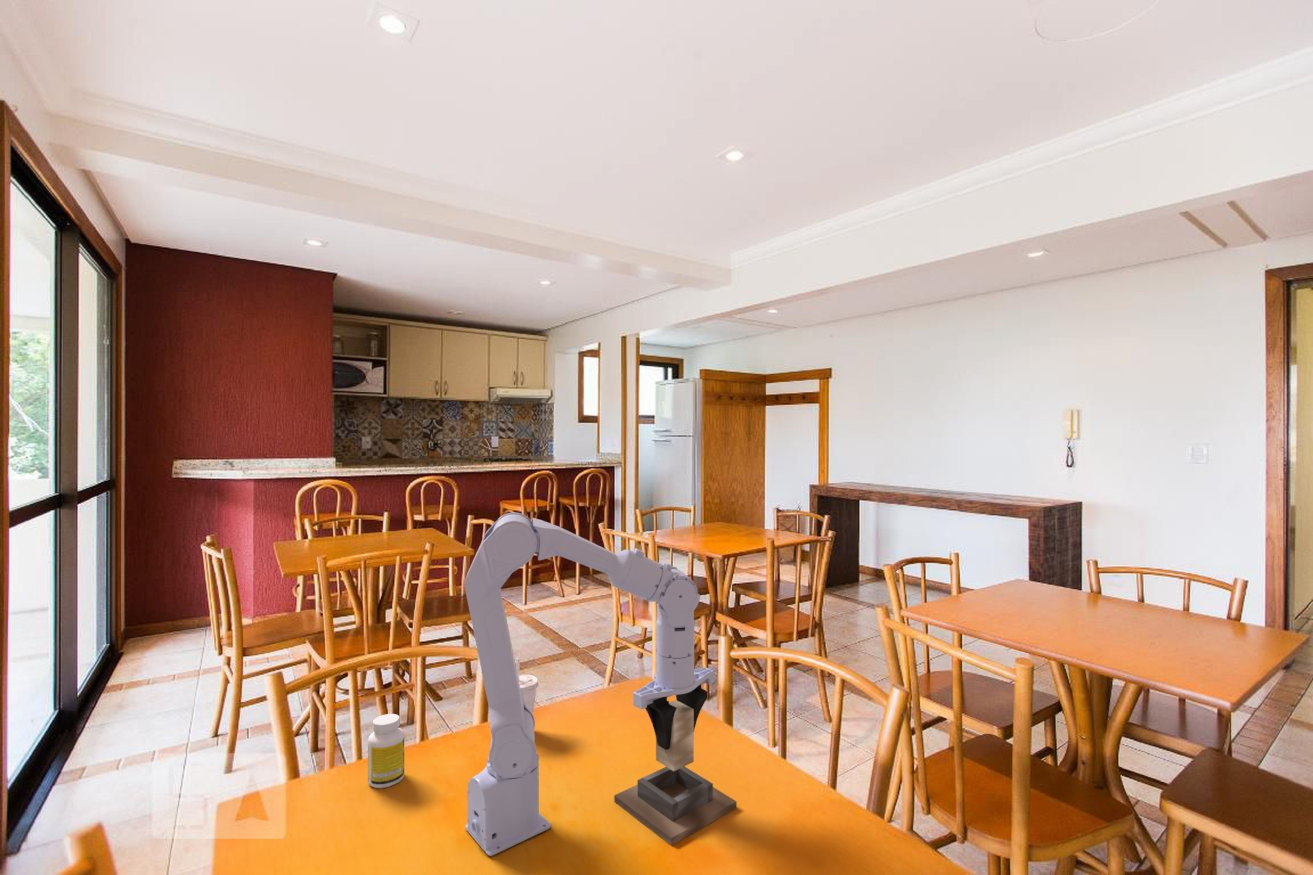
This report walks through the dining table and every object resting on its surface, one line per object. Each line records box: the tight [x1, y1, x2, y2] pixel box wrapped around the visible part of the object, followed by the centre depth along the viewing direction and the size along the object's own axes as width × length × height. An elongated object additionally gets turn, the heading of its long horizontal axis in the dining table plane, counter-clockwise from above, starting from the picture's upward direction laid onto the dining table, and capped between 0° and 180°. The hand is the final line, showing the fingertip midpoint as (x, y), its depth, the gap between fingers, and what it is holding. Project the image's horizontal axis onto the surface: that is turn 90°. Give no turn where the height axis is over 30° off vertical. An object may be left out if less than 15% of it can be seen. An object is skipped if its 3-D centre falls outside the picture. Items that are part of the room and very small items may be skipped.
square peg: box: [655, 699, 695, 771], centre depth 94 cm, size 4×4×8 cm
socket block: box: [613, 766, 738, 846], centre depth 94 cm, size 13×13×4 cm
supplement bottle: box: [367, 713, 405, 789], centre depth 100 cm, size 5×5×10 cm
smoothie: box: [515, 657, 539, 715], centre depth 116 cm, size 6×6×14 cm
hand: (675, 741), depth 94 cm, fingers closed on square peg, 4 cm apart
